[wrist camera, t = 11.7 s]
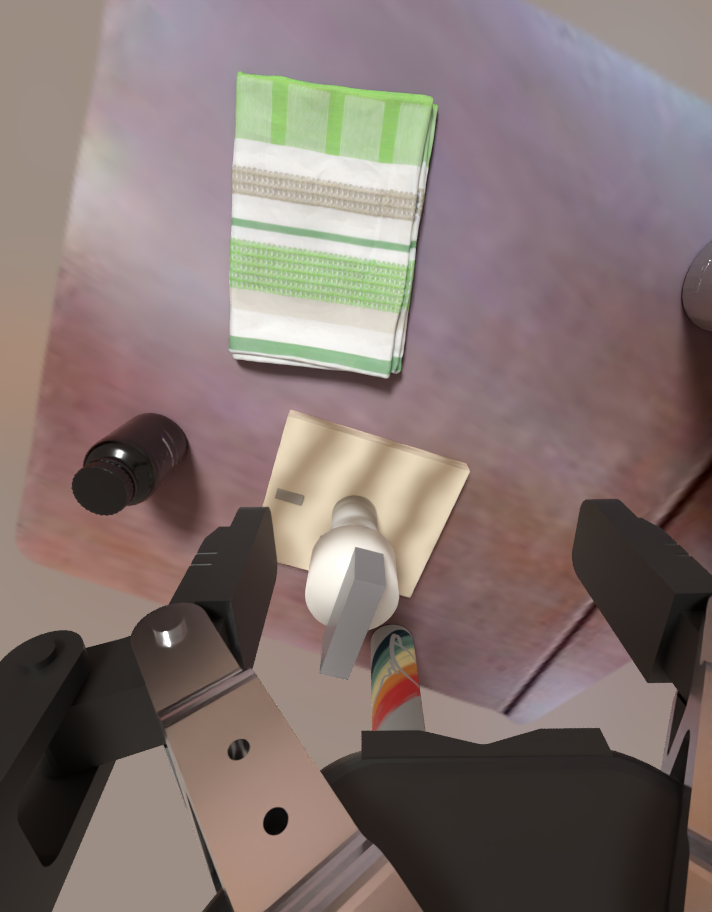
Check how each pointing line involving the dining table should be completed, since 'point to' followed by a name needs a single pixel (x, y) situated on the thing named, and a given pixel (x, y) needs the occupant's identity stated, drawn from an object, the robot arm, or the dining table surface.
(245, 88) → the dish towel
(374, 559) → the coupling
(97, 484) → the supplement bottle
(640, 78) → the dining table surface
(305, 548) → the post board
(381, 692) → the lotion bottle
